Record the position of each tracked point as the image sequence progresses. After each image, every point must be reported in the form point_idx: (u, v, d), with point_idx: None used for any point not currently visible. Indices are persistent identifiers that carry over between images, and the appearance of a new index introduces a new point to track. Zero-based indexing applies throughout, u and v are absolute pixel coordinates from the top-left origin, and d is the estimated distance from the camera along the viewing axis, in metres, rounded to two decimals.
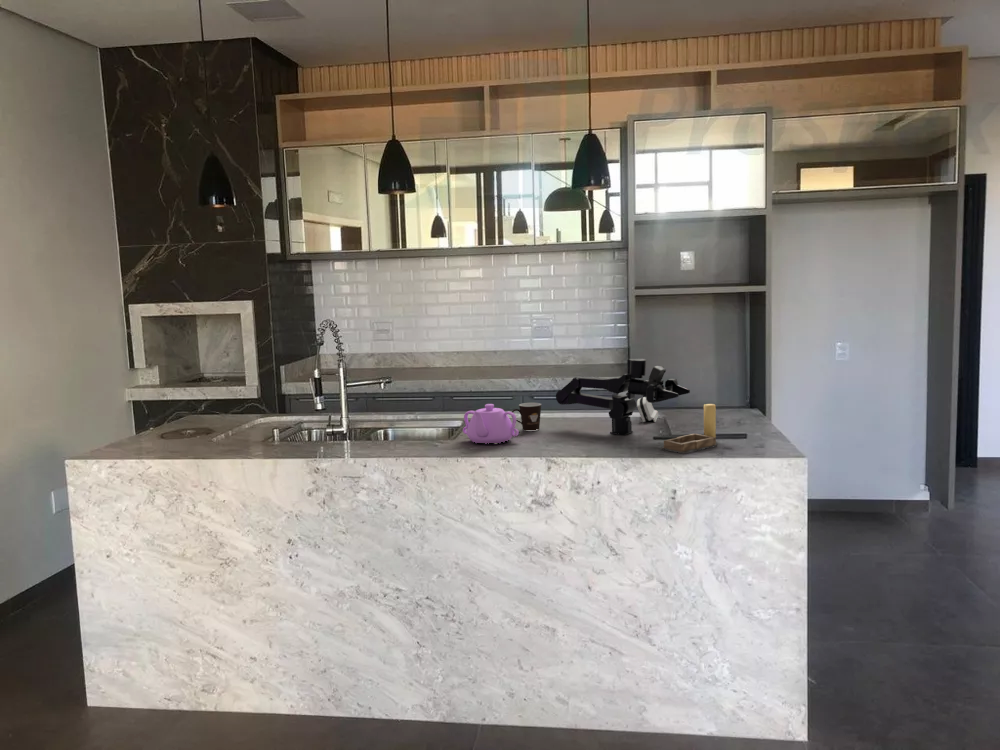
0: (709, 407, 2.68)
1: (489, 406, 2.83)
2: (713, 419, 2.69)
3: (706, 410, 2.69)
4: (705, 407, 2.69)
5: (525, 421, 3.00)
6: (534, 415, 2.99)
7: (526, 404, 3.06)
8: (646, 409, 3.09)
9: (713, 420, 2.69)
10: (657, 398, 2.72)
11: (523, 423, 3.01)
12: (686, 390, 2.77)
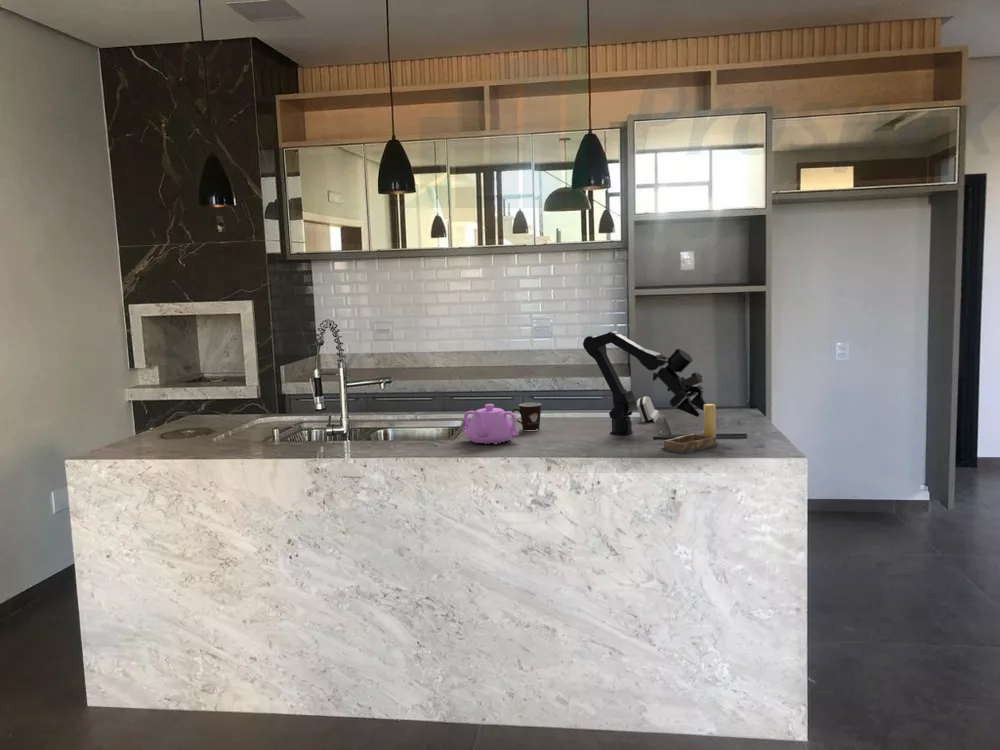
0: (709, 407, 2.68)
1: (489, 406, 2.83)
2: (713, 419, 2.69)
3: (706, 410, 2.69)
4: (705, 407, 2.69)
5: (525, 421, 3.00)
6: (534, 415, 2.99)
7: (526, 404, 3.06)
8: (646, 409, 3.10)
9: (713, 420, 2.69)
10: (679, 406, 2.69)
11: (523, 423, 3.01)
12: None
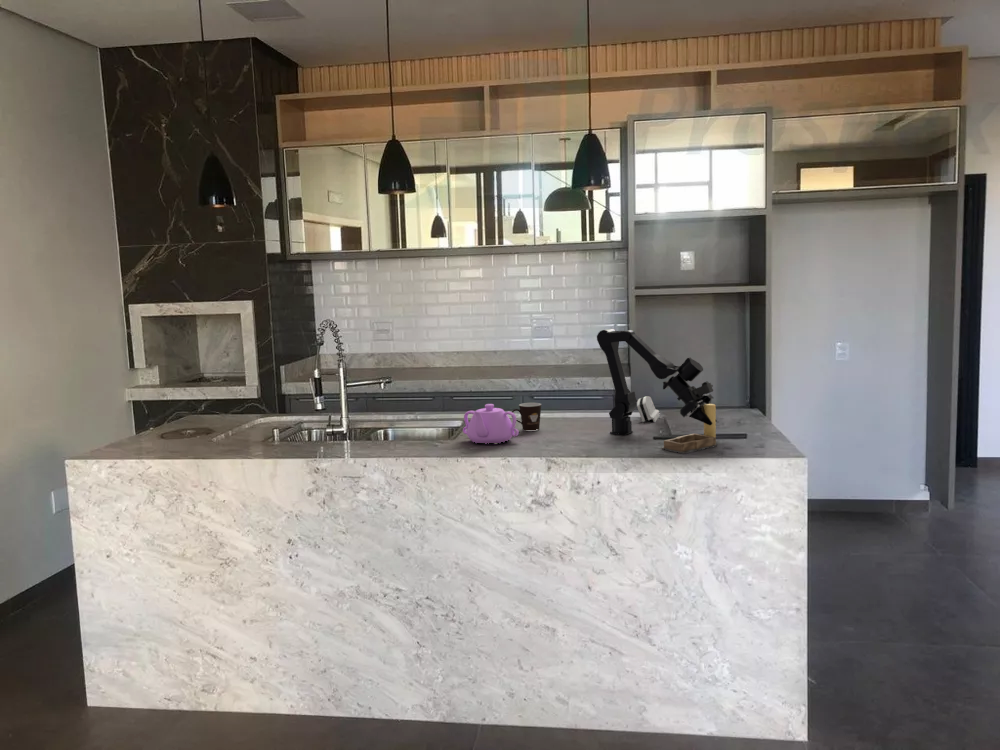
0: (709, 407, 2.68)
1: (489, 406, 2.83)
2: (713, 419, 2.69)
3: (706, 410, 2.69)
4: (705, 407, 2.69)
5: (525, 421, 3.00)
6: (534, 415, 2.99)
7: (526, 404, 3.06)
8: (646, 409, 3.10)
9: (713, 420, 2.69)
10: (692, 414, 2.69)
11: (523, 423, 3.01)
12: None
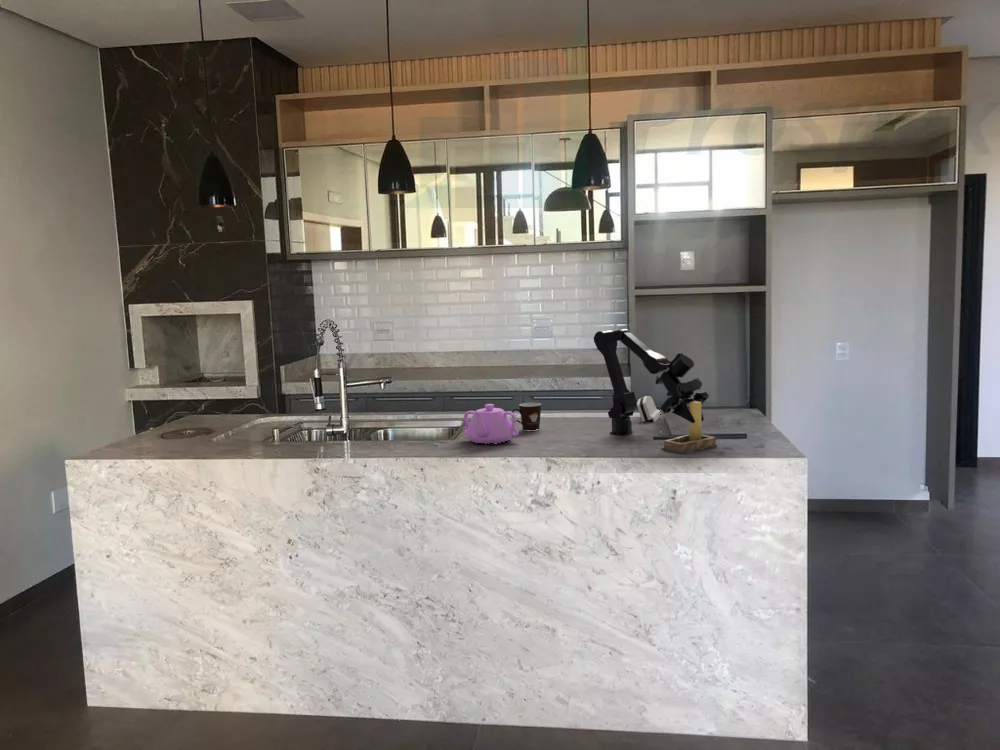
0: (692, 405, 2.63)
1: (489, 406, 2.83)
2: (697, 417, 2.63)
3: (690, 407, 2.64)
4: (689, 404, 2.64)
5: (525, 421, 3.00)
6: (534, 415, 2.99)
7: (526, 404, 3.06)
8: (646, 408, 3.11)
9: (697, 418, 2.63)
10: (675, 411, 2.65)
11: (523, 423, 3.01)
12: (701, 417, 2.65)
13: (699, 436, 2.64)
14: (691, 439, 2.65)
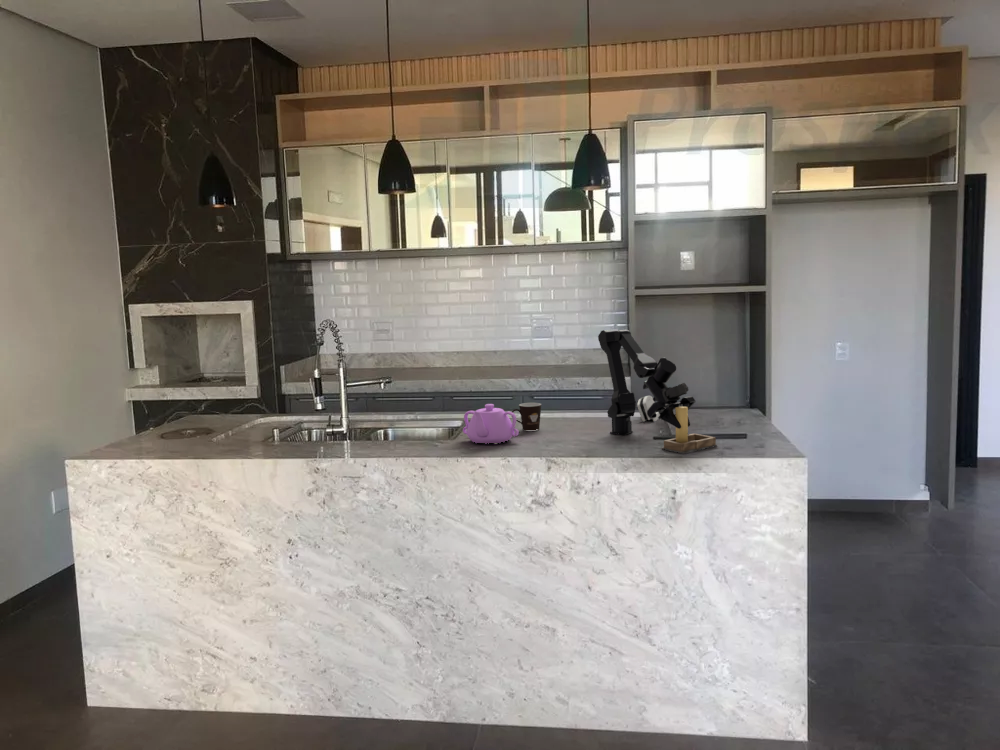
0: (679, 410, 2.59)
1: (489, 406, 2.83)
2: (683, 422, 2.59)
3: (676, 412, 2.60)
4: (676, 409, 2.60)
5: (525, 421, 3.00)
6: (534, 415, 2.99)
7: (526, 404, 3.06)
8: (646, 408, 3.11)
9: (683, 423, 2.59)
10: (661, 416, 2.61)
11: (523, 423, 3.01)
12: None
13: None
14: None
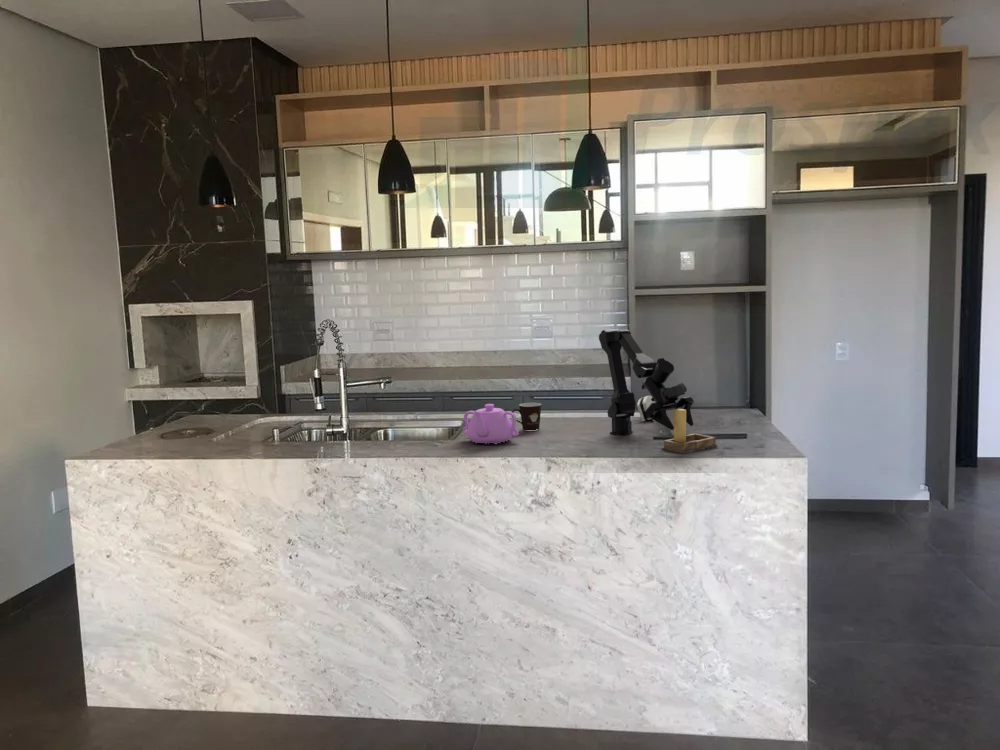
0: (677, 412, 2.58)
1: (489, 406, 2.83)
2: (681, 425, 2.59)
3: (674, 415, 2.59)
4: (674, 412, 2.60)
5: (525, 421, 3.00)
6: (534, 415, 2.99)
7: (526, 404, 3.06)
8: (645, 408, 3.11)
9: (681, 426, 2.59)
10: (654, 417, 2.60)
11: (523, 423, 3.01)
12: (690, 422, 2.62)
13: None
14: None
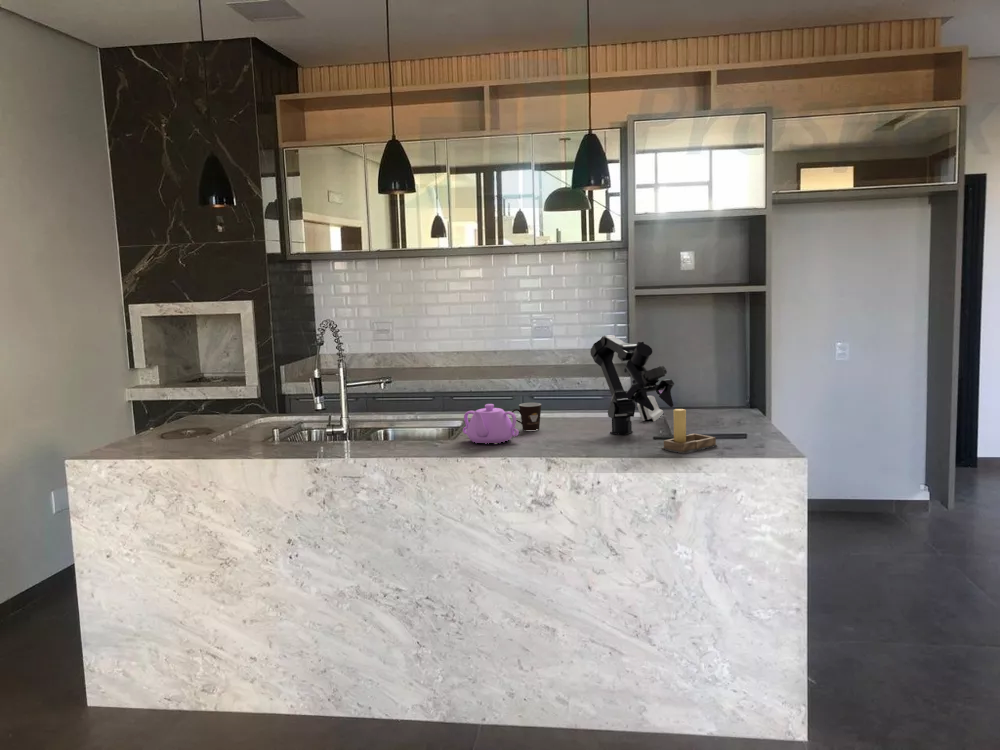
0: (677, 412, 2.58)
1: (489, 406, 2.83)
2: (681, 425, 2.59)
3: (674, 415, 2.59)
4: (674, 412, 2.60)
5: (525, 421, 3.00)
6: (534, 415, 2.99)
7: (526, 404, 3.06)
8: (645, 408, 3.12)
9: (681, 426, 2.59)
10: (635, 399, 2.66)
11: (523, 423, 3.01)
12: (670, 403, 2.69)
13: None
14: None
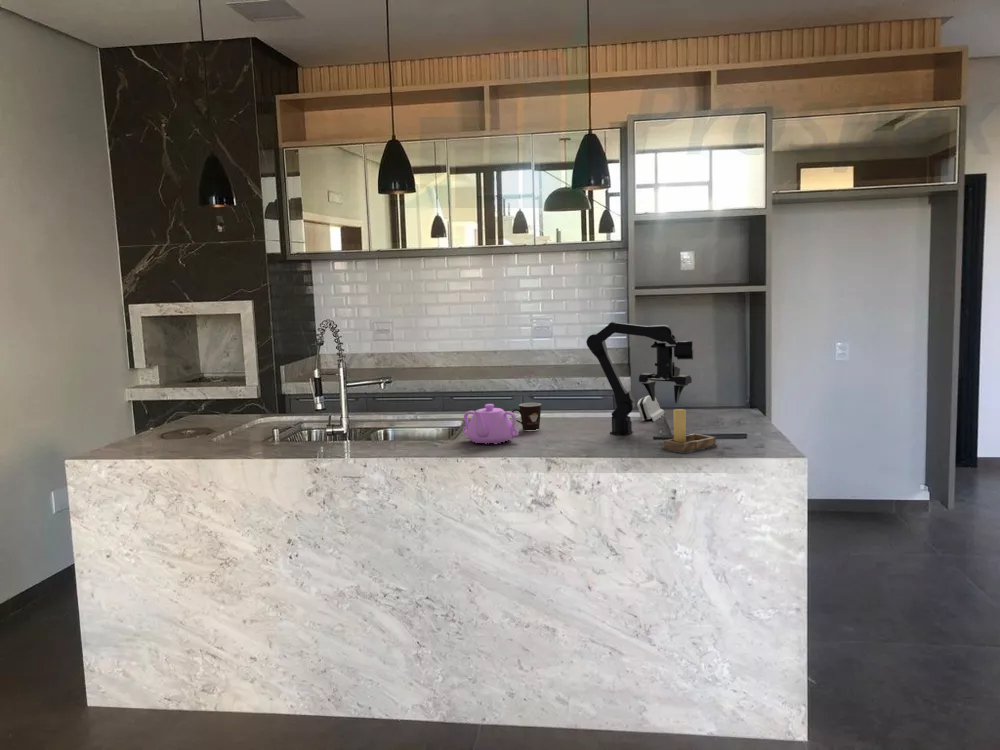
0: (677, 412, 2.58)
1: (489, 406, 2.83)
2: (681, 425, 2.59)
3: (674, 415, 2.59)
4: (674, 412, 2.60)
5: (525, 421, 3.00)
6: (534, 415, 2.99)
7: (526, 404, 3.06)
8: (645, 408, 3.12)
9: (681, 426, 2.59)
10: None
11: (523, 423, 3.01)
12: (654, 397, 2.88)
13: None
14: None
